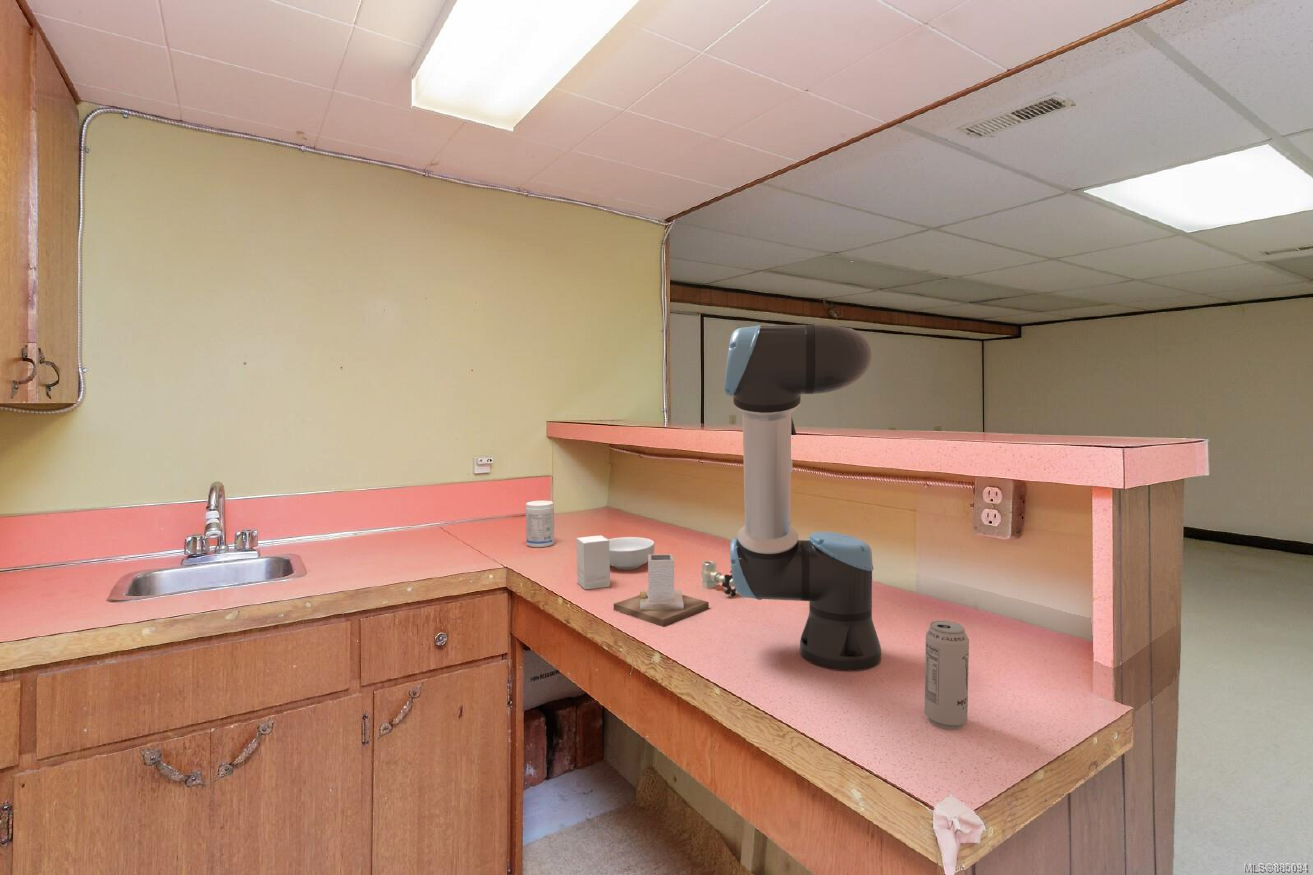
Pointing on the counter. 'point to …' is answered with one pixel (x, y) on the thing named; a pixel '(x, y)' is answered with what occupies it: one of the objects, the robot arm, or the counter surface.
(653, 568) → the white hollow block
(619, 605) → the base board
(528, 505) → the supplement tub
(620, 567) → the cereal bowl
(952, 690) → the energy drink can
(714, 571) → the valve
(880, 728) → the counter surface
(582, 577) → the supplement box
